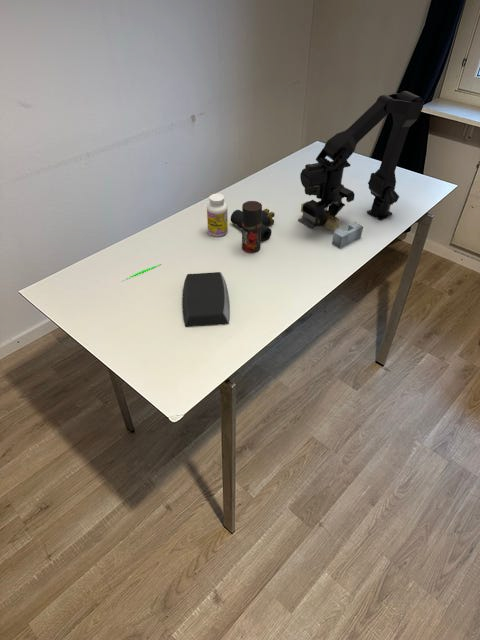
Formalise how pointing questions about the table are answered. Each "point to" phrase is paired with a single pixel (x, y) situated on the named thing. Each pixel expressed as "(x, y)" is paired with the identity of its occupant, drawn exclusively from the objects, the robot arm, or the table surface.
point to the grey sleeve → (309, 221)
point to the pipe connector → (266, 221)
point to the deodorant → (251, 226)
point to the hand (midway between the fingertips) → (325, 224)
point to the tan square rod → (328, 220)
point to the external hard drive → (205, 300)
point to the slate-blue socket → (347, 235)
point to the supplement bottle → (217, 215)
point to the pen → (143, 271)
